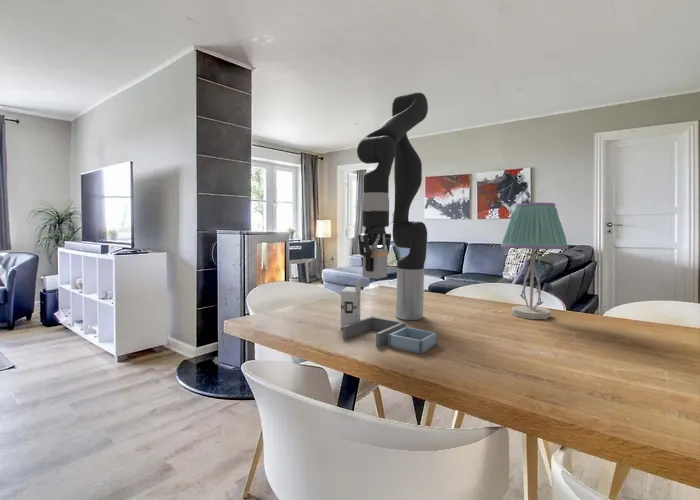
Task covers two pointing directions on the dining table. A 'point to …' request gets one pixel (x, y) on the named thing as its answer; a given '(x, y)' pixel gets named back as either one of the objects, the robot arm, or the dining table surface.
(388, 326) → the bay
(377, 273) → the tan-banded grey block
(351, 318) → the ink box
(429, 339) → the tray
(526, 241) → the table lamp
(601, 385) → the dining table surface
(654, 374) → the dining table surface
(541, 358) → the dining table surface
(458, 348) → the dining table surface
